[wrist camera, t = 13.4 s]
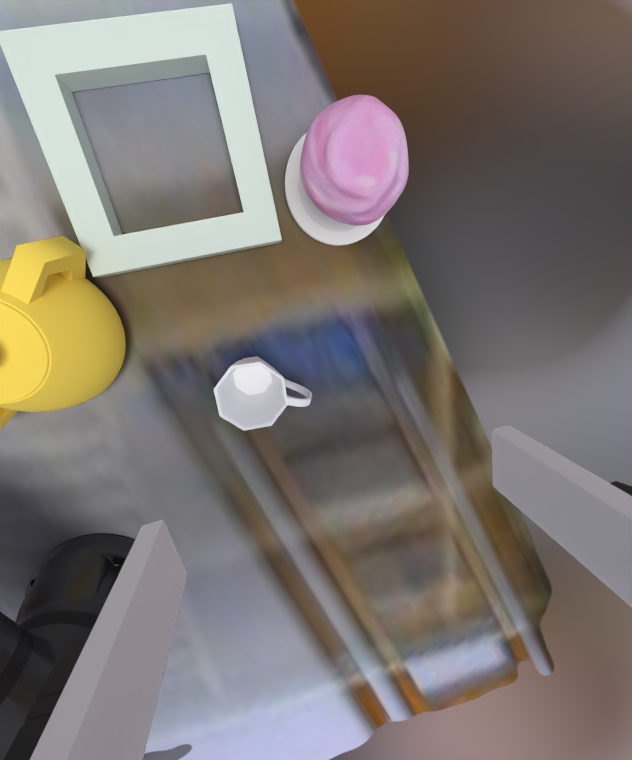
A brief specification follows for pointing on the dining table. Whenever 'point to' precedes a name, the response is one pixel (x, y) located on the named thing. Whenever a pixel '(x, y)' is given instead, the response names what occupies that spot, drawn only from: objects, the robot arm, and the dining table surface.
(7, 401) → the teapot
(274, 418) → the cup
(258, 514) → the dining table surface
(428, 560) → the dining table surface
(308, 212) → the plate
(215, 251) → the frame
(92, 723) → the robot arm
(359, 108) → the cupcake
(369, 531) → the dining table surface
